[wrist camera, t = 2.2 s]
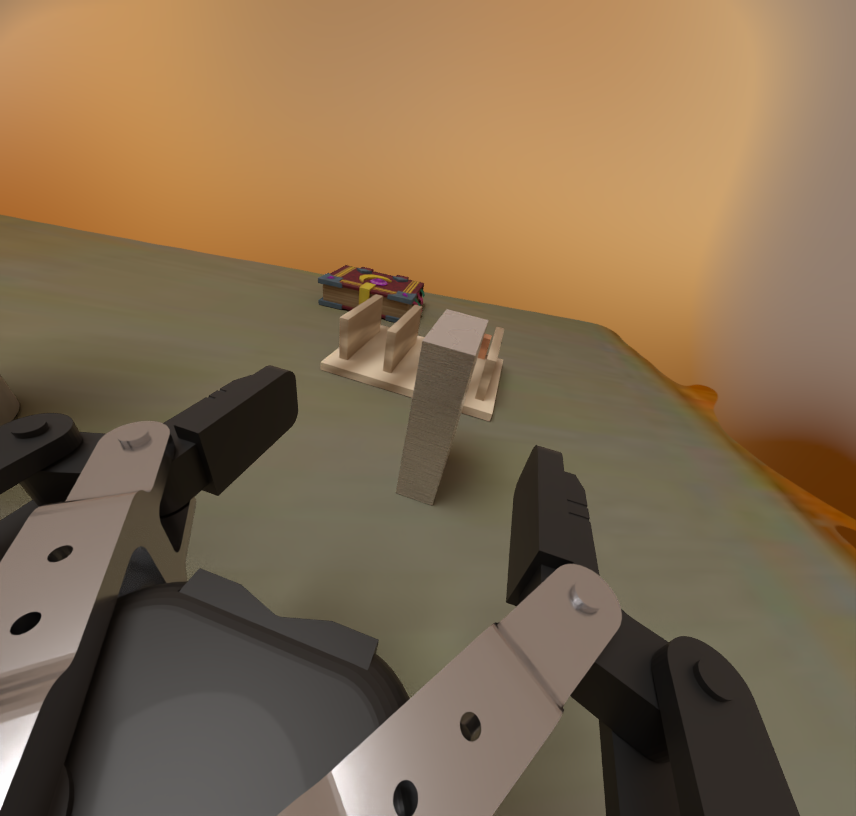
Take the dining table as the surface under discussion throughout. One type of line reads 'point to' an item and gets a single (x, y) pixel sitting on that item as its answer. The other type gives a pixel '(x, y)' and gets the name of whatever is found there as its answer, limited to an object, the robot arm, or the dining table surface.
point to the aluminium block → (438, 402)
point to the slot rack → (405, 356)
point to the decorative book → (370, 291)
